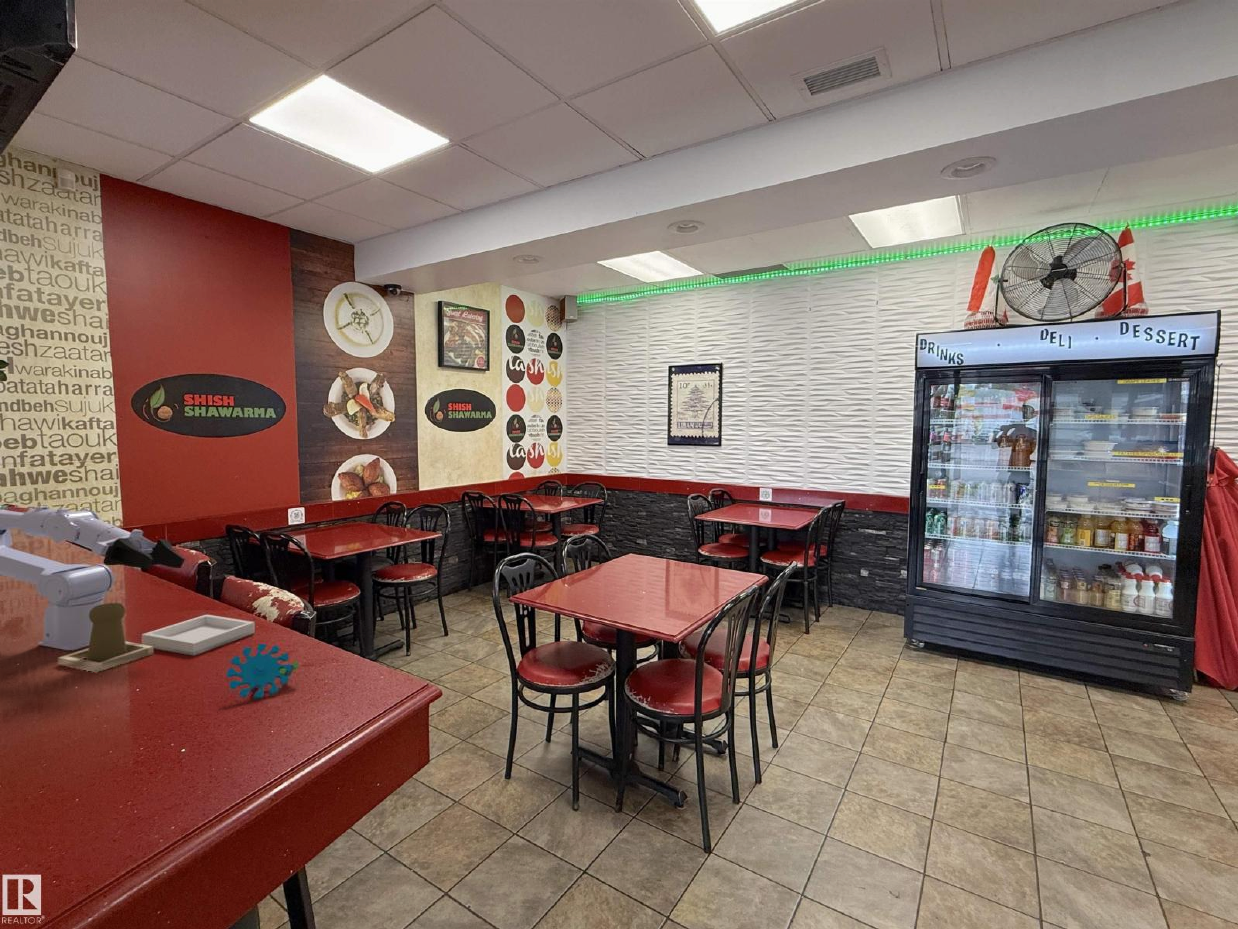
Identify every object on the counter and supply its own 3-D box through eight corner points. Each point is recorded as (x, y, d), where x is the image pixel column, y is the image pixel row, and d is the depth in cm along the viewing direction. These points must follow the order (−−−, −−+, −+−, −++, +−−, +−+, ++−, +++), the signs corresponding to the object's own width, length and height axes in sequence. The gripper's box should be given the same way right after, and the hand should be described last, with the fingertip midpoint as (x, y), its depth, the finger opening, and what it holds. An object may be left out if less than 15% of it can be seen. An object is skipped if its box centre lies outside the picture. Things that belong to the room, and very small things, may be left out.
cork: (102, 667, 106) (102, 610, 105) (77, 663, 107) (77, 607, 106) (135, 655, 112) (136, 601, 111) (111, 651, 113) (112, 598, 112)
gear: (224, 698, 93) (230, 643, 99) (219, 713, 96) (224, 658, 102) (299, 692, 100) (300, 640, 106) (291, 705, 103) (293, 654, 109)
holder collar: (57, 665, 106) (57, 657, 106) (116, 646, 115) (116, 639, 115) (96, 673, 103) (96, 665, 103) (153, 653, 113) (153, 646, 113)
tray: (141, 646, 116) (141, 634, 116) (206, 625, 130) (206, 614, 130) (193, 655, 113) (193, 643, 113) (254, 633, 126) (254, 622, 126)
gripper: (84, 519, 108) (143, 543, 107) (149, 524, 122) (202, 546, 121) (66, 554, 107) (126, 579, 106) (134, 555, 121) (188, 577, 120)
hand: (166, 563), depth 113 cm, fingers open, 7 cm apart
